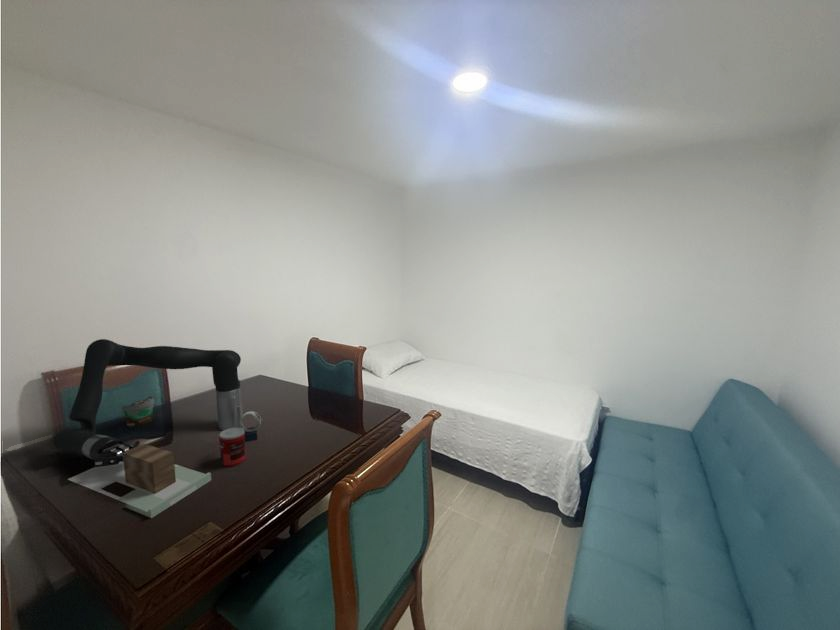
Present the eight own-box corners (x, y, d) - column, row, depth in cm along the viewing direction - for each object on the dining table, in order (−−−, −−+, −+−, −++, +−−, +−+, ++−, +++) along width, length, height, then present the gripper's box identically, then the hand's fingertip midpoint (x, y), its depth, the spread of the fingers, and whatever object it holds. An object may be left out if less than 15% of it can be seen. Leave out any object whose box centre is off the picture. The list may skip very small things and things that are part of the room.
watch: (262, 438, 136) (261, 413, 134) (240, 443, 132) (238, 416, 130) (262, 432, 141) (261, 407, 139) (240, 436, 137) (239, 411, 135)
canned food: (227, 455, 123) (225, 427, 122) (249, 454, 124) (248, 427, 123) (216, 467, 116) (214, 438, 114) (240, 466, 117) (238, 437, 115)
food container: (135, 430, 140) (133, 407, 138) (123, 428, 141) (121, 406, 140) (163, 417, 152) (161, 396, 150) (152, 416, 153) (150, 395, 152)
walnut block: (125, 482, 105) (122, 453, 103) (147, 471, 110) (144, 443, 109) (155, 493, 100) (152, 463, 98) (175, 481, 105) (173, 452, 104)
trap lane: (67, 483, 106) (66, 476, 105) (132, 454, 122) (132, 448, 122) (151, 518, 92) (150, 510, 92) (211, 480, 109) (210, 473, 109)
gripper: (75, 447, 106) (109, 459, 100) (124, 429, 118) (156, 438, 112) (78, 469, 107) (112, 482, 101) (126, 448, 119) (158, 459, 113)
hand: (135, 459), depth 107 cm, fingers closed
